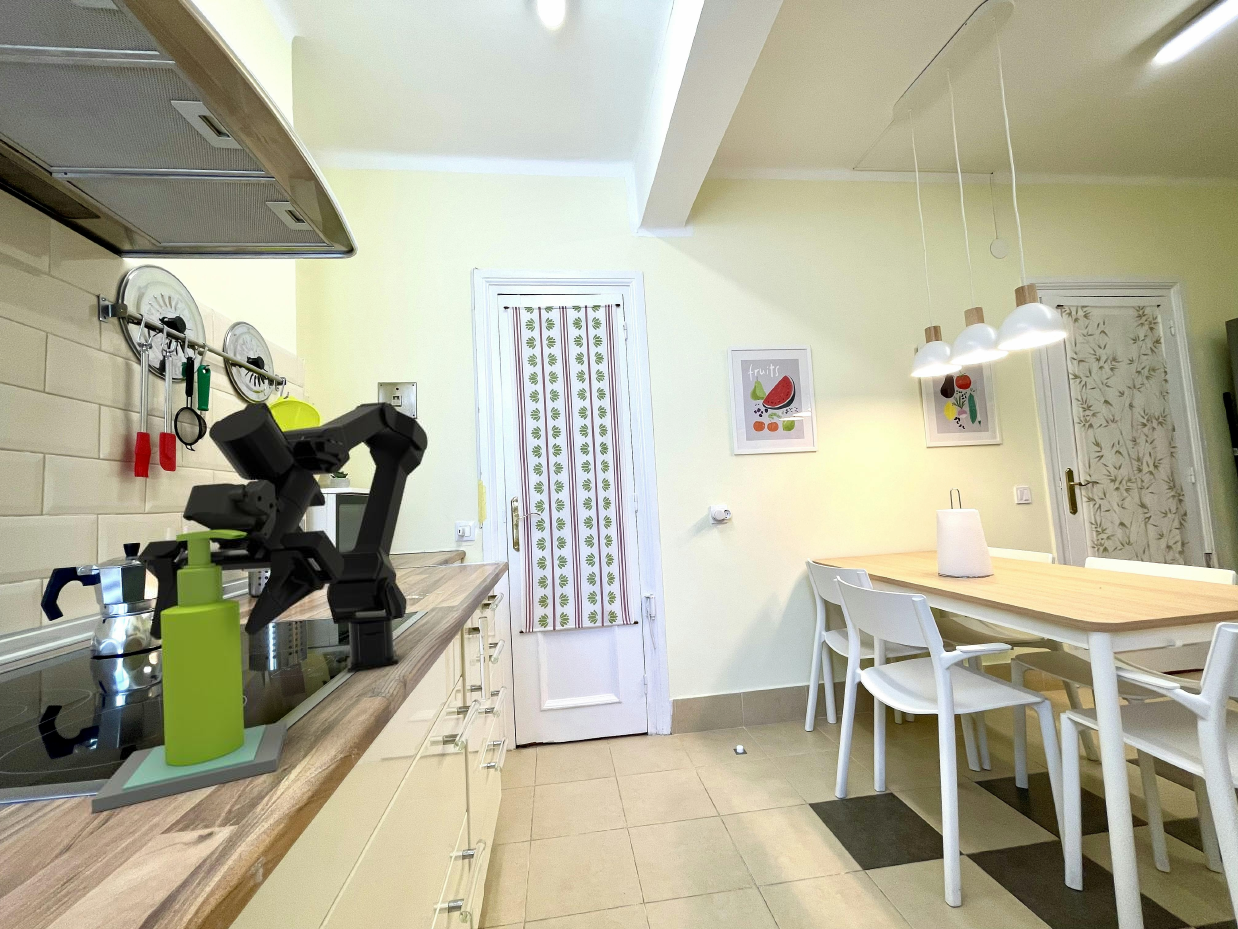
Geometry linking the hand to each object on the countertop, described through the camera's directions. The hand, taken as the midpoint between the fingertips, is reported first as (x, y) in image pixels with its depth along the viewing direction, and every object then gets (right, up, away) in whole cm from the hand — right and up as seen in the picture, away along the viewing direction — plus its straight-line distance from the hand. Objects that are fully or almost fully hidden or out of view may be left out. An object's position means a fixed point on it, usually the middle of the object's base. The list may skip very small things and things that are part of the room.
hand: (201, 635), depth 54 cm
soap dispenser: (+1, -11, -1) cm, 11 cm away
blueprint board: (+1, -12, -1) cm, 12 cm away
